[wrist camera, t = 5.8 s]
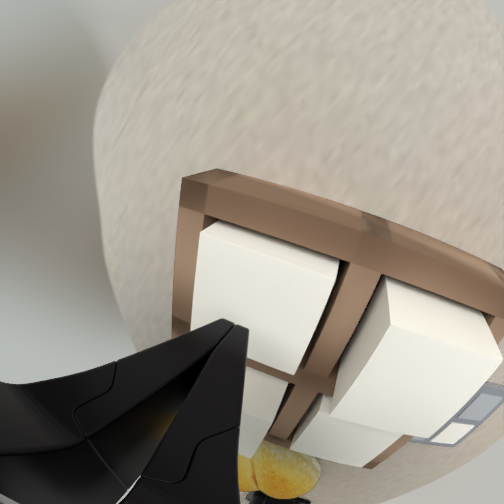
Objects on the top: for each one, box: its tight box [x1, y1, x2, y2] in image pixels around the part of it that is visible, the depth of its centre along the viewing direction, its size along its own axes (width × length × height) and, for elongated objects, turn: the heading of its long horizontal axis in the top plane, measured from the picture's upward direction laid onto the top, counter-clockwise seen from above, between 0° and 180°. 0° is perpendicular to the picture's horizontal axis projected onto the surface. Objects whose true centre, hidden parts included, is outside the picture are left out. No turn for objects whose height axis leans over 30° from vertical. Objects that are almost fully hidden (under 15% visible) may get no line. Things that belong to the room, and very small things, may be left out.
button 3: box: [238, 366, 289, 459], centre depth 12 cm, size 4×4×3 cm
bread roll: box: [238, 440, 321, 499], centre depth 17 cm, size 8×9×4 cm
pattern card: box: [409, 382, 504, 447], centre depth 11 cm, size 6×6×1 cm
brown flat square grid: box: [172, 169, 504, 469], centre depth 11 cm, size 13×13×2 cm
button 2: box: [329, 274, 503, 438], centre depth 8 cm, size 4×4×3 cm
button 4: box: [190, 219, 340, 375], centre depth 10 cm, size 4×4×3 cm
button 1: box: [290, 392, 403, 467], centre depth 12 cm, size 4×4×3 cm
